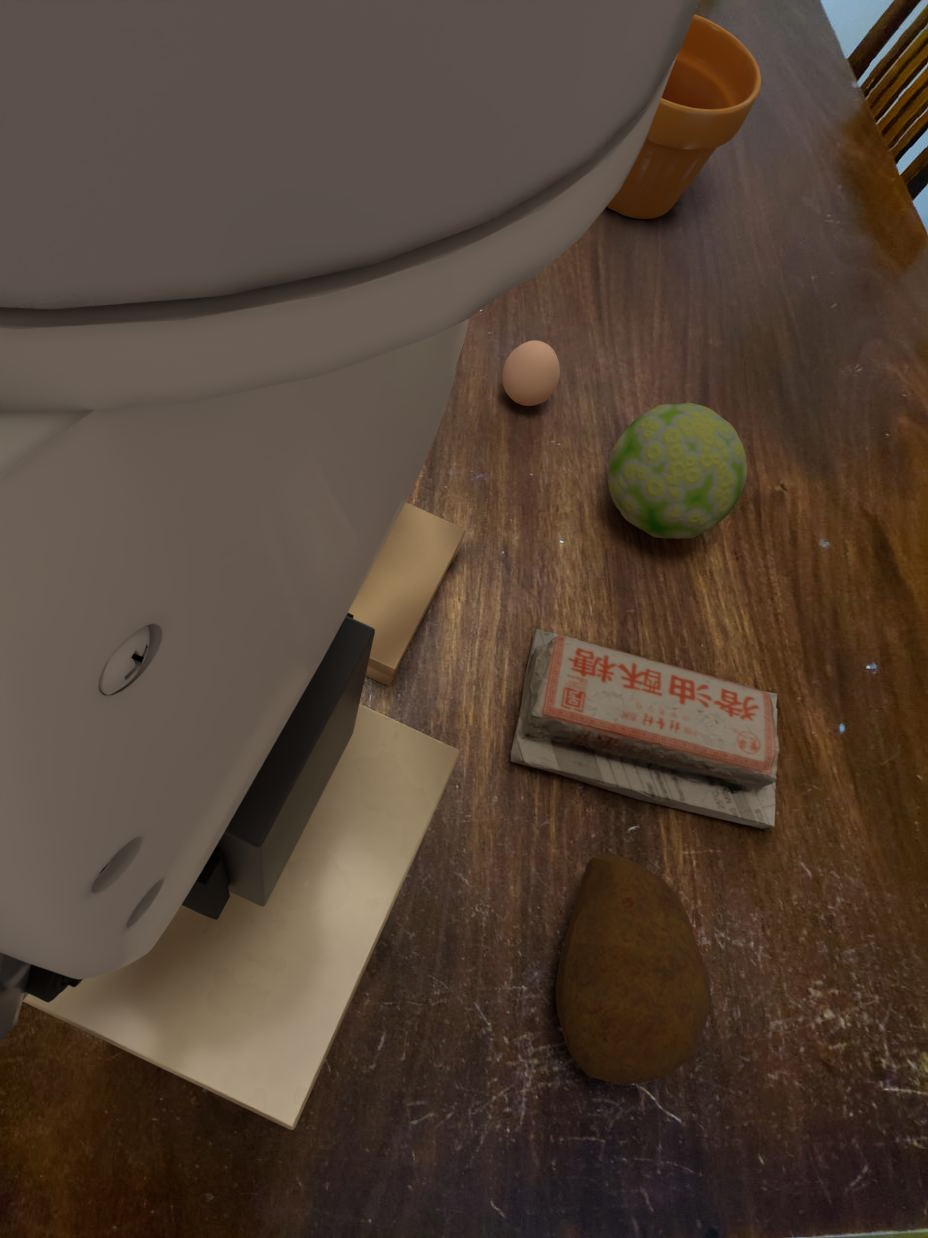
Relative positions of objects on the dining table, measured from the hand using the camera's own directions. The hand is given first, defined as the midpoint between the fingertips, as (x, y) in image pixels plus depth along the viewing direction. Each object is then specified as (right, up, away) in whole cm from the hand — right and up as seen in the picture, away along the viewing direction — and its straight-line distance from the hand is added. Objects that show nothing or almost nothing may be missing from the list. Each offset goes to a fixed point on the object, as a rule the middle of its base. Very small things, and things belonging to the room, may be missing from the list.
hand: (218, 766), depth 20 cm
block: (0, 0, 0) cm, 1 cm away
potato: (+14, -19, +35) cm, 42 cm away
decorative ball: (+20, +12, +52) cm, 57 cm away
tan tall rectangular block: (-7, -16, +32) cm, 36 cm away
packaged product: (+18, -5, +43) cm, 47 cm away
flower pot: (+21, +45, +69) cm, 85 cm away
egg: (+10, +21, +54) cm, 59 cm away
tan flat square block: (-3, +6, +44) cm, 44 cm away
